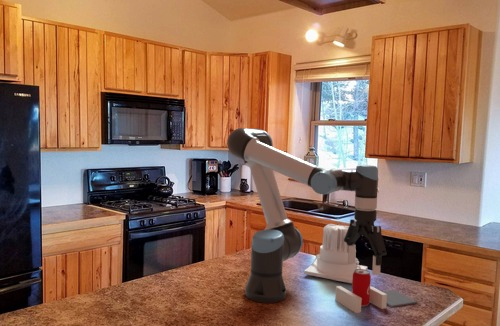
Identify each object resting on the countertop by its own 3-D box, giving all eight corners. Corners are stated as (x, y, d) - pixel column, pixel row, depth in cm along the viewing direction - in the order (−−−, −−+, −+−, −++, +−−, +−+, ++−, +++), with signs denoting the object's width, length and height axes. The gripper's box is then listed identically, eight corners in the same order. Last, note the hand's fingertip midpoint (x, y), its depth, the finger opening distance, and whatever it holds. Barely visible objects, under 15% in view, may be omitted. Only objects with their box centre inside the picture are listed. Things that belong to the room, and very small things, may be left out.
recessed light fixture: (300, 276, 175) (302, 226, 174) (316, 263, 194) (319, 218, 193) (359, 287, 164) (362, 235, 162) (370, 273, 183) (373, 225, 182)
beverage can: (372, 304, 147) (374, 271, 147) (364, 309, 143) (365, 275, 142) (356, 299, 152) (358, 267, 151) (348, 303, 147) (349, 270, 146)
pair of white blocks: (356, 313, 139) (356, 298, 139) (335, 299, 150) (335, 286, 150) (386, 308, 144) (386, 294, 144) (363, 295, 155) (364, 282, 155)
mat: (391, 307, 145) (391, 305, 145) (369, 294, 156) (369, 293, 156) (417, 303, 150) (417, 301, 150) (393, 291, 161) (393, 289, 161)
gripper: (399, 214, 135) (396, 278, 136) (352, 203, 158) (350, 257, 159) (381, 215, 132) (378, 280, 133) (335, 204, 155) (333, 259, 156)
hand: (363, 268), depth 146 cm, fingers open, 13 cm apart
